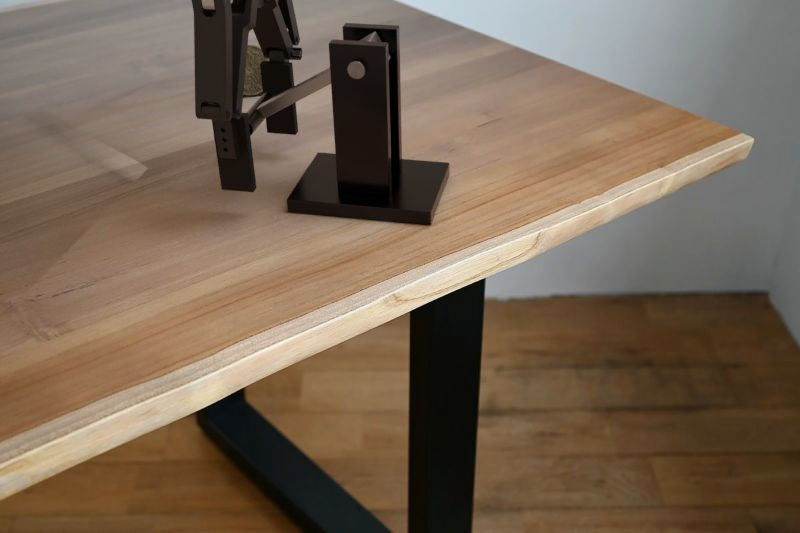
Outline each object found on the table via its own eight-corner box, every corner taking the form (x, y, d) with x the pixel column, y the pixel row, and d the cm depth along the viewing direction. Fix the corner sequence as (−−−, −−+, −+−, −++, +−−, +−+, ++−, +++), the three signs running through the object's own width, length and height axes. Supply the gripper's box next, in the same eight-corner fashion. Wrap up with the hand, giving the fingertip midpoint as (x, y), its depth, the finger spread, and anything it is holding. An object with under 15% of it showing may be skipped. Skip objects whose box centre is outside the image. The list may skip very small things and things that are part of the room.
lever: (246, 144, 74) (229, 120, 73) (270, 115, 79) (254, 91, 78) (379, 76, 68) (363, 48, 67) (396, 49, 73) (381, 23, 72)
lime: (282, 90, 97) (278, 44, 94) (246, 103, 94) (240, 56, 92) (256, 80, 100) (251, 35, 97) (220, 92, 97) (214, 47, 94)
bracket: (287, 212, 75) (271, 49, 67) (318, 164, 82) (307, 12, 75) (430, 225, 73) (430, 58, 65) (449, 174, 80) (451, 19, 72)
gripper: (221, -82, 56) (258, 229, 68) (325, -143, 75) (339, 109, 87) (108, -85, 57) (164, 220, 69) (238, -144, 76) (265, 104, 88)
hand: (262, 158), depth 78 cm, fingers open, 10 cm apart
